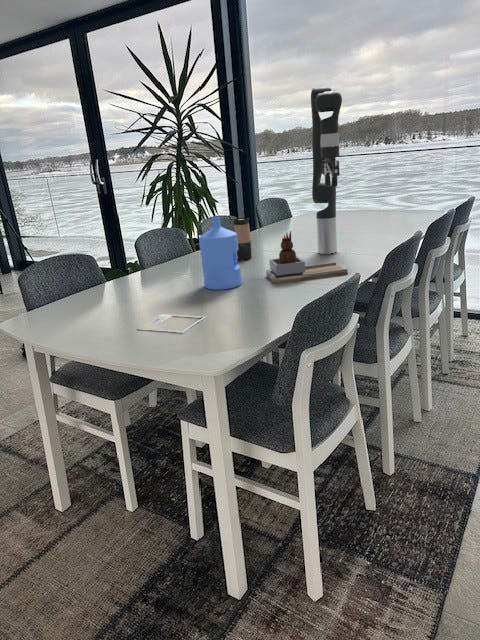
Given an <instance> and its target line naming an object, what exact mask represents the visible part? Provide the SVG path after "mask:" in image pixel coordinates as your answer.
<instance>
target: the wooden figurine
mask: <svg viewBox="0 0 480 640" xmlns="http://www.w3.org/2000/svg"><path fill="white" fill-rule="evenodd" d="M283 236H284V237H282V239H281V242H280V248H281V250H280V251H279V254H278V258H279V259H280V264H287V263H295V262H296V256H297V253H296V251H295V249H293V248H294V243H293V241H292V231H291V230H290V231H289V234H288V232H286V235H283Z"/></svg>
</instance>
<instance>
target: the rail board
mask: <svg viewBox="0 0 480 640" xmlns="http://www.w3.org/2000/svg"><path fill="white" fill-rule="evenodd" d="M348 273H349V271H348V268H343V267H341V266H340V265H338V264H337V261H335V262H326V263H320V264H312V265H305V272H303V275H299V273H293V274H286V275H282V277H281V278H278V277H277V276H276V275H275V274H273V272H272V271H271V270H270V269H266V277H267V278H268V279H269V281H270V282H271V283H272V284H273V285H277V284H278V285H279V284H287V283H293V282H299V281H300V282H302V281H308V280H315V279H324V278H329V277H331V278H332V277H337V276H343V275H345V276H346V275H348Z"/></svg>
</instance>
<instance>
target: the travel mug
mask: <svg viewBox="0 0 480 640" xmlns="http://www.w3.org/2000/svg"><path fill="white" fill-rule="evenodd" d="M250 228H251V227H250V219H249V217H237V218H234V219H233V229H234V231H233V232H235V233H237V238H238V251H237V252H236V254H237V261H248V260H252V240H251V233H250V232H251V229H250Z"/></svg>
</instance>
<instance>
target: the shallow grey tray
mask: <svg viewBox="0 0 480 640" xmlns="http://www.w3.org/2000/svg"><path fill="white" fill-rule="evenodd" d="M268 261H269V270H270V271H272V272H273V274H275V275H276V276H277V277H278V278H281V277H282V275H286V274H293V273H299V275H303V272H305V266H306V261H305V260H303V259H302V258H301V257H299V256H297V255H296V262H295V263H287V264H280V259H279V257H278V258H273V259H271V258H270V259H269V260H268Z"/></svg>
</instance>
